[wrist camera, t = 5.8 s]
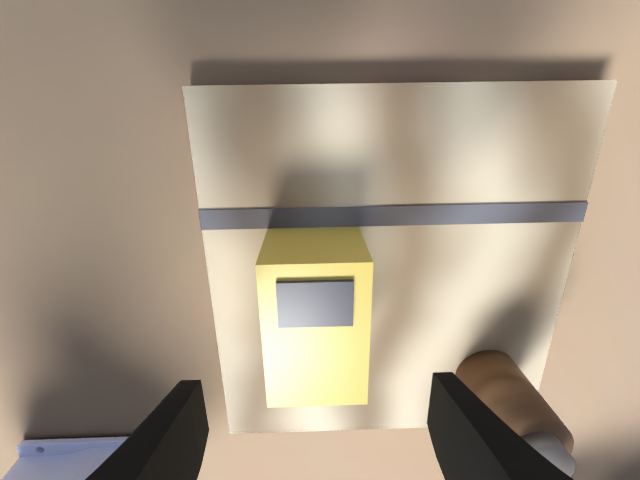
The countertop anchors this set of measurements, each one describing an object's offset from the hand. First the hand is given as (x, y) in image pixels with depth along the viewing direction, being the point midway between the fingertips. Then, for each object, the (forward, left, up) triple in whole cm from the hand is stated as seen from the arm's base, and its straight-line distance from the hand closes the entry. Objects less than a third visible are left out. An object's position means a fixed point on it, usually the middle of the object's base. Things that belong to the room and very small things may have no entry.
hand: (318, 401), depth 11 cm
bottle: (+10, -6, -8) cm, 14 cm away
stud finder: (0, 0, -8) cm, 8 cm away
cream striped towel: (+4, 0, -9) cm, 10 cm away
